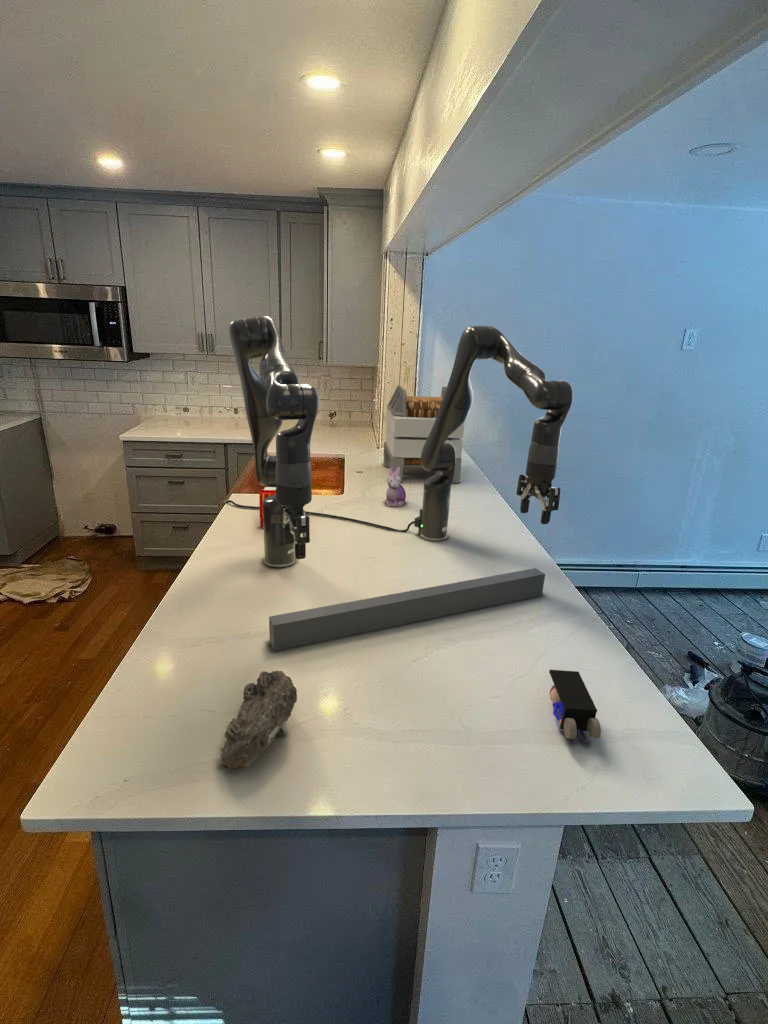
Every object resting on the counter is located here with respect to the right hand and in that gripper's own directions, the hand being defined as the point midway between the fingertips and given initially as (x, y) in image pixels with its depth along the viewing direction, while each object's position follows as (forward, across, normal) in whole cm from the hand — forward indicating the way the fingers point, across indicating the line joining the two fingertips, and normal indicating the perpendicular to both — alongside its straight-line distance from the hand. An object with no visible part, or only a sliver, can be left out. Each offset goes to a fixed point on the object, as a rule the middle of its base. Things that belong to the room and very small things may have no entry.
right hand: (534, 518), depth 152 cm
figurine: (+24, -84, 0) cm, 87 cm away
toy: (+24, -85, -48) cm, 100 cm away
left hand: (0, 0, -66) cm, 66 cm away
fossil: (+24, +26, -80) cm, 87 cm away
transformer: (+24, -121, +31) cm, 127 cm away
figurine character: (+23, +46, -24) cm, 57 cm away
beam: (+24, 0, -33) cm, 41 cm away
